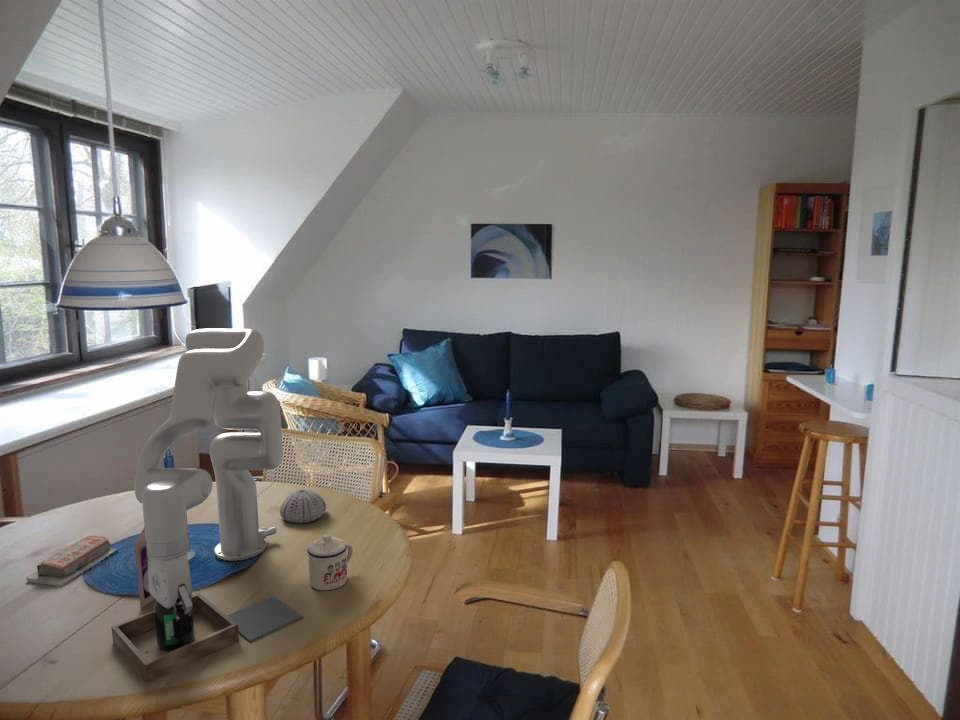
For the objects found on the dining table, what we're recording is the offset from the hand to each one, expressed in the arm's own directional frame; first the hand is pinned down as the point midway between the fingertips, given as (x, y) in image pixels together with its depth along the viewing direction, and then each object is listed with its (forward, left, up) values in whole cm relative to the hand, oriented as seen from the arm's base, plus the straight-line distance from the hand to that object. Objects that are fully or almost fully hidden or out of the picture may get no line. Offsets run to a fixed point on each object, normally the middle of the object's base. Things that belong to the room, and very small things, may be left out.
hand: (174, 626), depth 130 cm
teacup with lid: (-36, +2, -4) cm, 36 cm away
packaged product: (+4, -50, -4) cm, 50 cm away
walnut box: (0, 0, -3) cm, 3 cm away
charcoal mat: (-16, +5, -3) cm, 17 cm away
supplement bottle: (0, 0, -4) cm, 4 cm away
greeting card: (-4, -23, -4) cm, 24 cm away
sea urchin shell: (-51, -35, -4) cm, 62 cm away
